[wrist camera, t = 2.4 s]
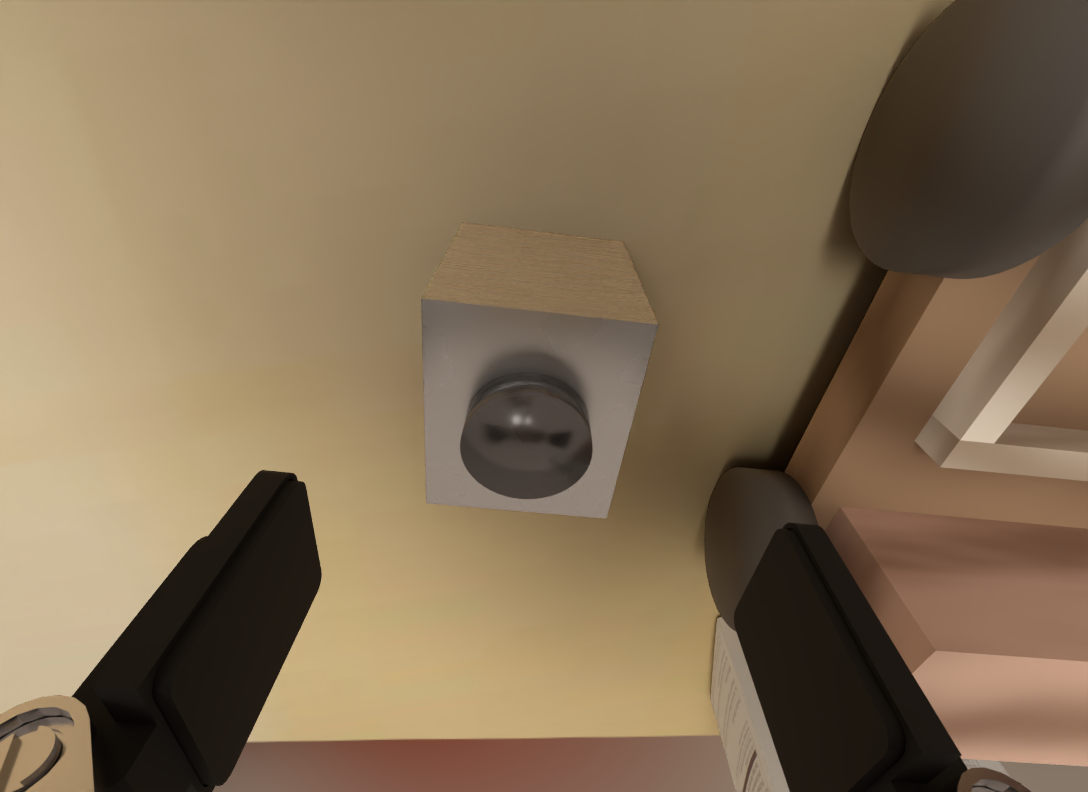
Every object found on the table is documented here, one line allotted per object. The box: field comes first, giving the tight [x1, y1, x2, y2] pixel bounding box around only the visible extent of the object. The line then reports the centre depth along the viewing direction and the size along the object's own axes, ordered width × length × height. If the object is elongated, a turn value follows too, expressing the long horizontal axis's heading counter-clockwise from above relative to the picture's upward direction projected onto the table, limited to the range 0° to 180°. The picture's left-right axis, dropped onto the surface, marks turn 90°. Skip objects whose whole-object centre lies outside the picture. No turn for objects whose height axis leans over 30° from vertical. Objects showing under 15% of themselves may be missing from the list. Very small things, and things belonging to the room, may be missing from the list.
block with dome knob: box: [421, 223, 658, 519], centre depth 14 cm, size 6×5×7 cm
